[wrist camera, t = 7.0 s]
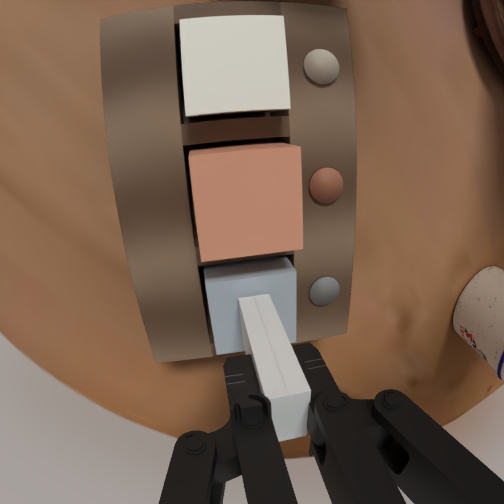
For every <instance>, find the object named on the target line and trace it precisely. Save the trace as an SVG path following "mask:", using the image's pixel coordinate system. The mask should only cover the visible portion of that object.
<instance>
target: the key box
mask: <svg viewBox="0 0 504 504" xmlns="http://www.w3.org/2000/svg"><path fill="white" fill-rule="evenodd" d="M233 15H277V16H284V26H285V37H286V49H287V62H288V75H289V90H290V105H291V109H285V110H279V111H272V112H266V113H248V114H233V115H221V116H210V117H201V118H192V119H188V118H187V117H186V114H185V102H184V89H183V75H182V59H181V41H180V20H179V19H189V18H199V17H213V16H233ZM100 46H101V75H102V91H103V105H104V116H105V127H106V136H107V144H108V153H109V160H110V167H111V174H112V181H113V187H114V193H115V199H116V205H117V211H118V216H119V221H120V227H121V232H122V237H123V241H124V246H125V251H126V255H127V260H128V264H129V269H130V273H131V277H132V281H133V285H134V289H135V293H136V297H137V301H138V304H139V308H140V312H141V315H142V319H143V323H144V326H145V330H146V333H147V336H148V340H149V343H150V346H151V349H152V353H153V356H154V359H155V362H156V363H159V362H170V361H180V360H189V359H198V358H206V357H214V356H221V355H229V354H236V353H242V352H245V351H241V352H234V353H227V354H220V355H217V354H216V348H215V342H214V336H213V330H212V324H211V318H210V312H209V305H208V299H207V292H206V286H205V275H204V265H211V264H219V263H227V262H234V261H242V260H250V259H258V258H265V257H273V256H281V255H286V257H287V258H288V260H289V261H290V263H291V264H292V266H293V267H294V269H295V270H296V342H295V343H290V344H296V343H301V342H306V341H311V340H316V339H321V338H326V337H331V336H335V335H340V334H344V333H347V325H348V315H349V306H350V295H351V284H352V271H353V257H354V240H355V218H356V115H355V94H354V78H353V64H352V53H351V42H350V33H349V24H348V16H347V9H346V8H339V7H332V6H324V5H315V4H305V3H292V2H272V1H229V2H209V3H196V4H185V5H176V6H168V7H161V8H155V9H148V10H142V11H137V12H132V13H127V14H122V15H117V16H113V17H108V18H104V19H100ZM270 140H273V141H278V142H282V143H287V144H291V145H295V146H300V147H301V166H302V200H303V249H300V250H292V251H284V252H277V253H269V254H261V255H253V256H246V257H238V258H230V259H222V260H214V261H206V262H201V256H200V249H199V241H198V234H197V226H196V218H195V210H194V202H193V193H192V184H191V175H190V166H189V152H190V148H192V147H201V146H210V145H220V144H230V143H242V142H255V141H270Z"/></svg>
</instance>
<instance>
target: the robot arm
mask: <svg viewBox="0 0 504 504" xmlns="http://www.w3.org/2000/svg"><path fill="white" fill-rule="evenodd" d="M238 300H239V310H240V320H241V329H242V339H243V345H244V349H245V353H246V355H242V356H235V357H228V358H227V359H226V362H225V364H224V366H223V367H224V373H225V380H226V386H227V393H228V399H229V405H230V413H231V416H230V419H229V421H228V422H227V424H226V425H224V426H223V427H222V428H220V429H218V430H216V431H214V432H212V433H209V434H207V433H206V432H202V431H190V432H187V433H184V434H183V435H182V436H180V437H179V438H178V440H177V441H176V444H175V446H174V450H173V454H172V457H171V461H170V464H169V468H168V472H167V475H166V479H165V482H164V486H163V490H162V493H161V497H160V501H159V504H223V496H224V489H225V483H226V482H227V481H229V480H231V479H233V478H236V477H238V476H240V475H242V478H243V483H244V488H245V492H246V498H247V502H248V504H298V503H297V500H296V497H295V494H294V490H293V487H292V484H291V480H290V477H289V474H288V471H287V467H286V464H285V461H284V457H283V454H282V451H281V447H280V444H279V442H280V441H284V440H289V439H294V438H298V437H303V436H307V429H308V431H309V434H310V436H311V442H310V449H309V455H310V456H312V455H313V454H314V457H315V459H316V462H317V465H318V467H319V470H320V472H321V475H322V478H323V481H324V483H325V486H326V489H327V491H328V494H329V497H330V499H331V502H332V504H406V502H405V500H404V498H403V496H402V494H401V493H400V491H399V489H398V487H399V488H400V489H401V490H402V491H403V492H404V493H405V494H406V495H407V496H408V498H409V499H410V500H411V501H412V502H413V503H414V504H504V481H503V480H502V479H501V478H499V477H498V476H497V475H496V474H495V473H493V471H491V470H490V469H489V468H488V467H487V466H486V465H485V464H483V463H482V462H481V461H480V460H479V459H478V458H476V457H475V456H474V455H473V454H472V453H471V452H470V451H468V450H467V449H466V448H465V447H464V446H463V445H462V444H460V443H459V442H458V441H457V440H456V439H455V438H454V437H453V436H451V435H450V434H449V433H448V432H447V431H446V430H444V429H443V428H442V427H441V426H440V425H439V424H438V423H437V422H435V421H434V420H433V419H432V418H431V417H430V416H429V415H428V414H426V413H425V412H424V411H423V410H422V409H421V408H420V407H418V406H417V405H416V404H415V403H414V402H413V401H412V400H411V399H409V398H408V397H407V396H406V395H405V394H403V393H402V392H400V391H398V390H394V389H389V390H384V391H381V392H380V393H378V394H377V395H376V397H375V399H367V400H359V399H352V398H349V396H348V395H347V394H345V393H343V392H341V391H340V390H339V388H338V386H337V385H336V383H335V381H334V379H333V377H332V375H331V373H330V371H329V369H328V367H327V366H326V364H325V362H324V360H323V359H322V356H321V354H320V352H319V350H318V349H317V348H315V347H314V346H313V345H311V344H310V343H307V344H302V345H296V346H291V344H290V341H289V339H288V337H287V334H286V332H285V330H284V327H283V325H282V323H281V321H280V318H279V316H278V314H277V311H276V309H275V307H274V304H273V302H272V300H271V298H270V295H269V294H264V295H257V296H250V297H243V298H238ZM397 486H398V487H397Z"/></svg>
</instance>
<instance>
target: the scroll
mask: <svg viewBox="0 0 504 504" xmlns="http://www.w3.org/2000/svg"><path fill="white" fill-rule="evenodd" d="M471 1H472V6H473V10H474V14H475V17H476V21H477V24H478V27H476V28H475V29H473V31H472V33H473V35H474V36H477V37H480V38H483V40H484V42H485V44H486V47H487V49H488V51H489V53H490V55H491V57H492V59H493V61H494V63H495V64H496V66H497V68H498V70H499V71H500V73H501V74H502V76H503V77H504V0H471Z"/></svg>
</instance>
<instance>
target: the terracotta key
mask: <svg viewBox="0 0 504 504" xmlns="http://www.w3.org/2000/svg"><path fill="white" fill-rule="evenodd" d="M189 166H190V175H191V184H192V193H193V202H194V210H195V218H196V226H197V234H198V241H199V249H200V256H201V262H206V261H214V260H222V259H230V258H238V257H246V256H253V255H261V254H269V253H277V252H284V251H292V250H300V249H303V200H302V166H301V147H300V146H295V145H291V144H287V143H282V142H278V141H273V140H270V141H255V142H242V143H230V144H220V145H210V146H201V147H192V148H190V152H189Z"/></svg>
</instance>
